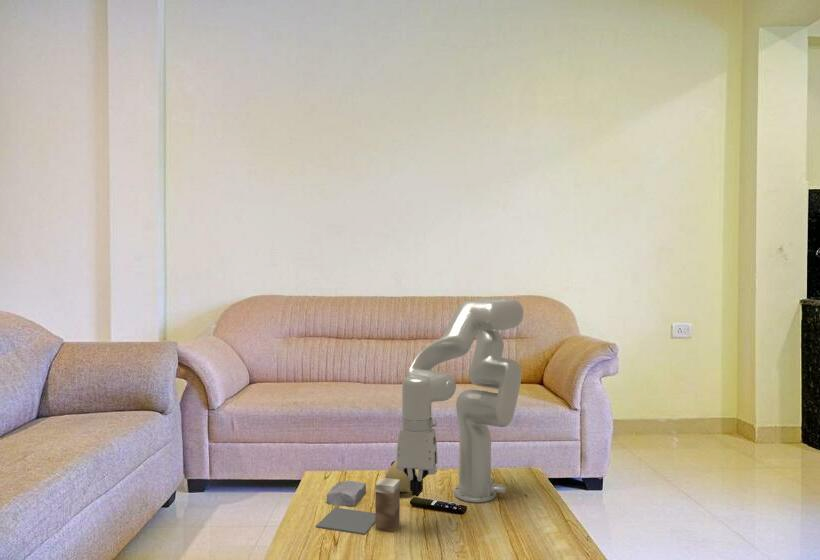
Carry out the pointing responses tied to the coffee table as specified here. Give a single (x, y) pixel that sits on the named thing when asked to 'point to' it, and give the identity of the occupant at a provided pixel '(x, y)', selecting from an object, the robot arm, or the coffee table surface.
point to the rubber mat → (348, 521)
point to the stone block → (346, 493)
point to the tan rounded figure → (399, 477)
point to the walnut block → (387, 504)
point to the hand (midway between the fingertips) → (416, 494)
